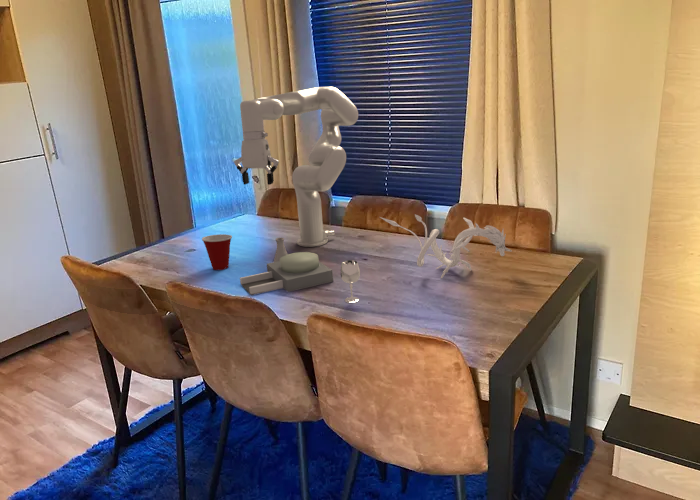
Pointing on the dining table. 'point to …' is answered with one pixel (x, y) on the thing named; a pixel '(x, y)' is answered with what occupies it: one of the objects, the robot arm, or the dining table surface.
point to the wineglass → (350, 276)
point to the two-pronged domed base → (289, 274)
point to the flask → (280, 249)
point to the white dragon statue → (456, 243)
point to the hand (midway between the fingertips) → (258, 183)
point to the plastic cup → (218, 250)
